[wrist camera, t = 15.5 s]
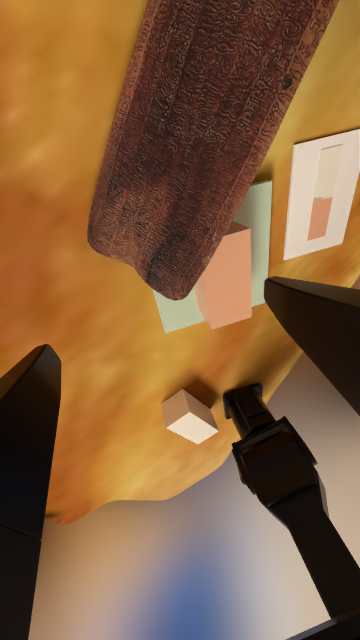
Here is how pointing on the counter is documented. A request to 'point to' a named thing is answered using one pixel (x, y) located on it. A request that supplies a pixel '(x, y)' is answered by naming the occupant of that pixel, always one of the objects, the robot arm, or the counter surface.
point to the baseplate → (258, 219)
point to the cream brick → (188, 417)
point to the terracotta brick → (227, 280)
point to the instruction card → (321, 192)
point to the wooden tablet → (196, 128)
